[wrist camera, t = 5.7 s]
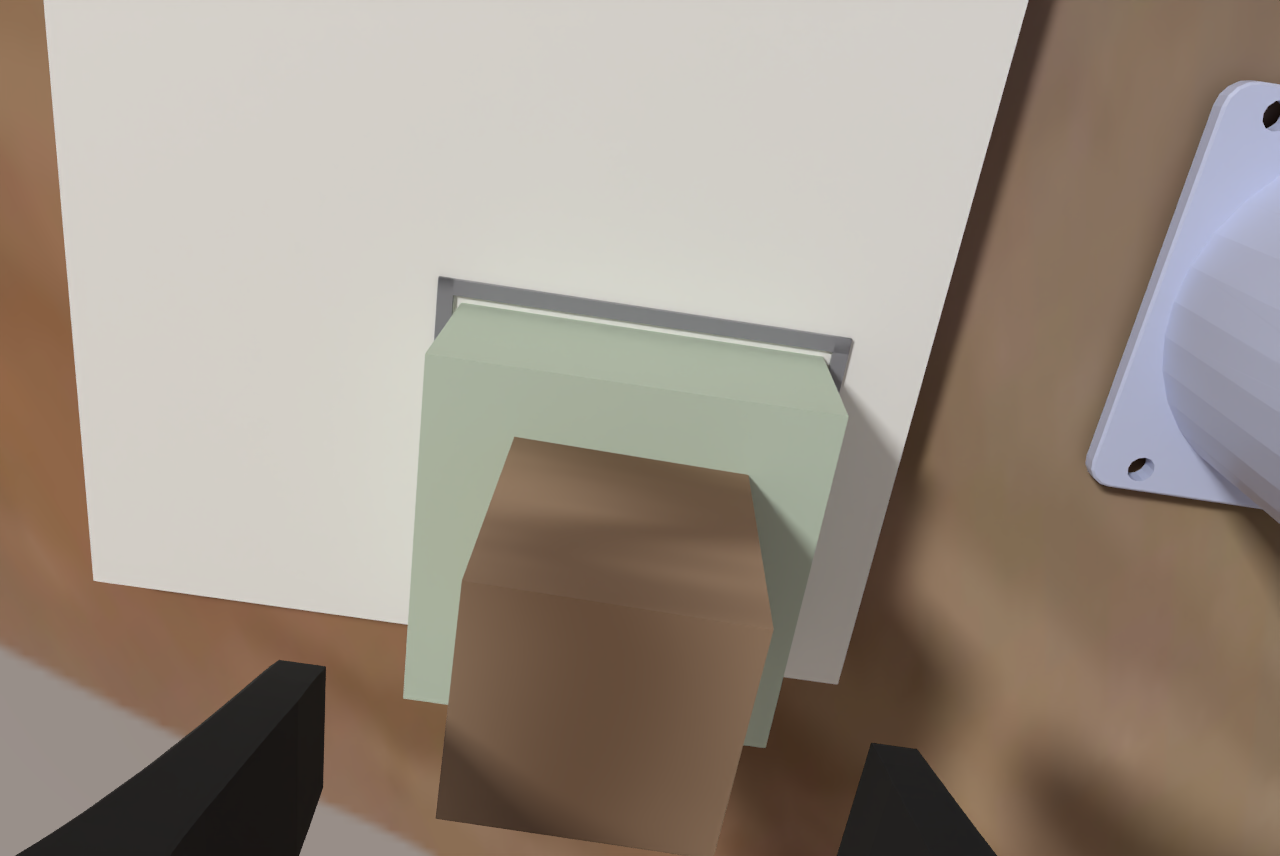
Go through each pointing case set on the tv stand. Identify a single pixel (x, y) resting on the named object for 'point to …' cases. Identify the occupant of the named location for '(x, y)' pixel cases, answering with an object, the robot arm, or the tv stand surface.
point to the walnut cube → (606, 651)
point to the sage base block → (614, 450)
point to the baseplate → (483, 245)
